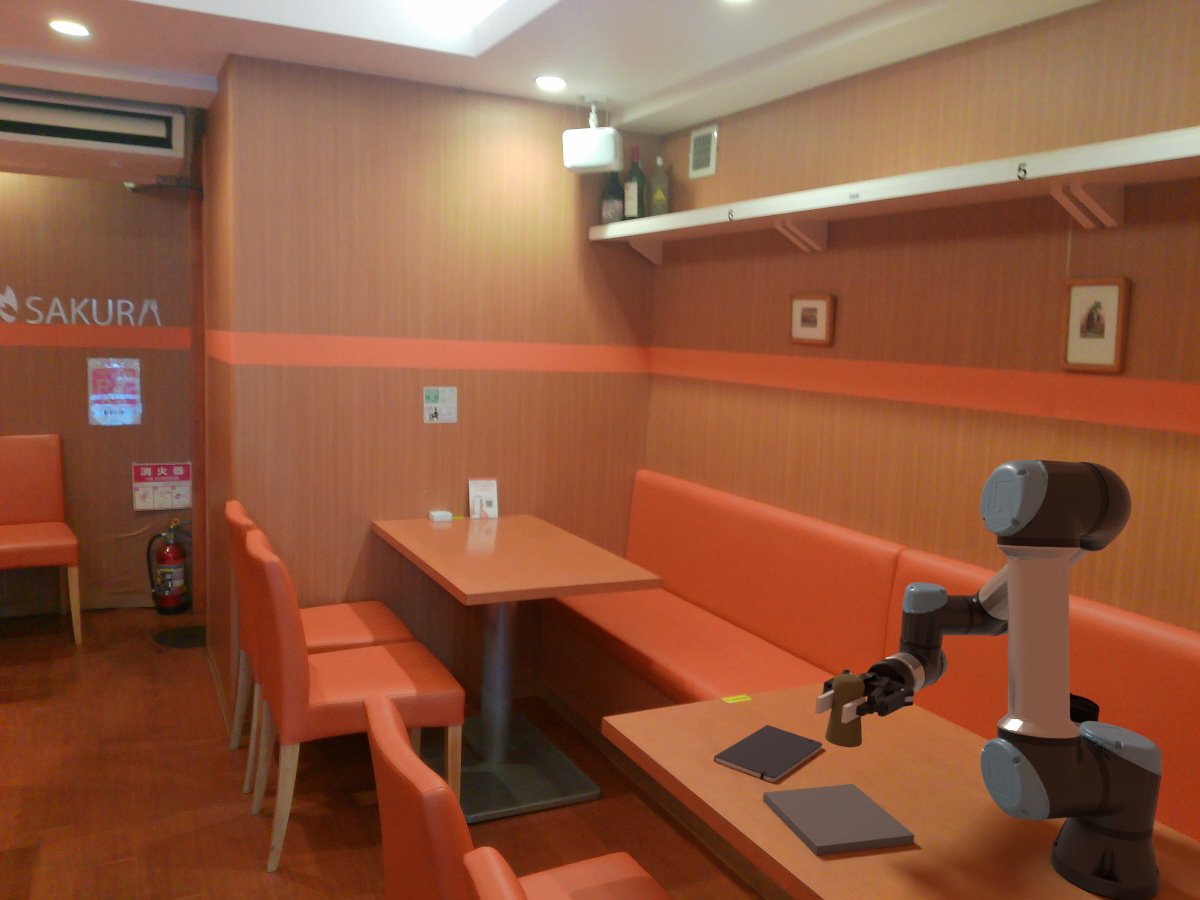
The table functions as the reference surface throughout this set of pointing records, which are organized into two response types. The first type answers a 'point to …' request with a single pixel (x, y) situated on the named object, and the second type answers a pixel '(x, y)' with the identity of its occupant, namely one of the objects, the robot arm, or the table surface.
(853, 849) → the slate board
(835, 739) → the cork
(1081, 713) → the travel mug
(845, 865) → the table surface
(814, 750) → the notebook
